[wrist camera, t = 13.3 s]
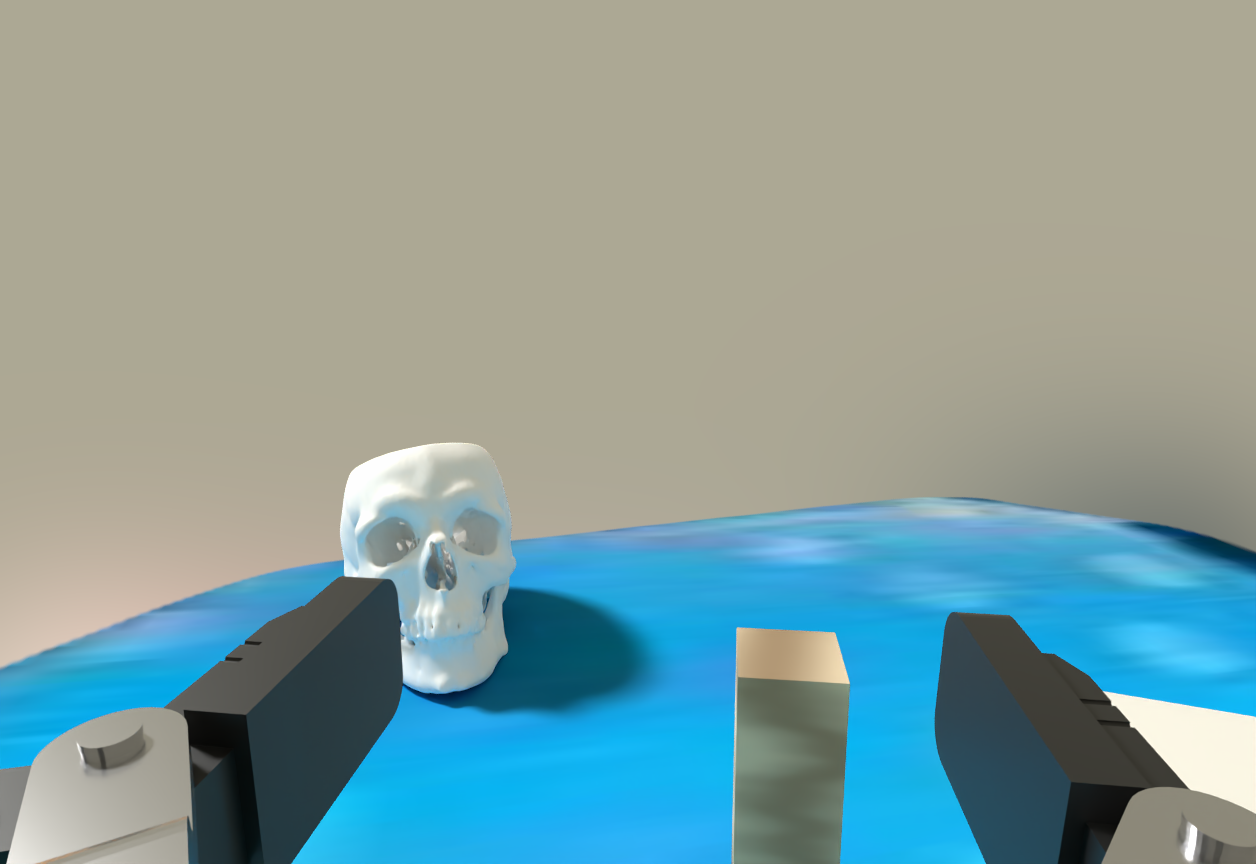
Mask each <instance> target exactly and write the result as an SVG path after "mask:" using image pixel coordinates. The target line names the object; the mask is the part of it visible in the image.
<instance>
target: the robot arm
mask: <svg viewBox="0 0 1256 864" xmlns="http://www.w3.org/2000/svg"><path fill="white" fill-rule="evenodd" d="M402 685H403V665H402V650H401V635H400V619H399V604H398V593H397V589H396V586H395V584H394V582H393V581H392V580H390V579H381V578H364V577H346V576H341V577H338V578H337V579H336V580H334V581H333V582H332V583H331V584H330V585H329V586H327V587H326V588H325V589H324V590H323V591H322V592H320V593H319V594H318V595H317V596H316V597H315V598H313V599H312V600H311V601H310V602H309V603H308V604H306V605H305V606H301V607H299V608H297V609H294V610H292V611H290V612H288V613H286V614H284V615H282V616H280V617H277V618H275V619H273V620H271V621H269V622H267V623H266V624H265V625H264V626H263V627H261V628H260V629H259V630H258V631H256V632H255V633H254V634H253V635H252V636H250V637H249V638H248V639H247V640H245V644H244V645H239V646H238V647H237V648H236V649H235V650H233V651H232V652H231V653H230V654H228V655H227V656H226V658H225V661H220V662H219V663H217V664H216V665H215V666H214V667H213V668H211V669H210V670H209V671H208V672H207V673H205V674H204V675H203V676H202V677H200V678H199V679H198V680H197V681H196V682H194V683H193V684H192V685H191V686H189V687H188V688H187V689H186V690H185V691H183V692H182V693H181V694H180V695H178V696H177V697H176V698H175V699H174V700H172V701H171V702H170V703H169V704H168V705H166V706H165V707H164V708H153V707H150V708H136V709H129V710H124V711H119V712H115V713H111V714H108V715H104V716H101V717H98V718H96V719H93V720H90V721H88V722H86V723H83V724H81V725H79V726H77V727H75V728H73V729H71V730H69V731H67V732H65V733H64V734H62V735H61V736H59V737H57V738H56V739H55V740H53V741H52V742H51V743H49V744H48V745H47V746H46V747H45V748H44V749H43V750H42V751H41V752H40V753H39V754H38V755H37V757H36V758H35V759H34V761H33V764H32V766H25V767H17V768H9V769H1V770H0V864H291V863H292V862H293V860H294V859H295V857H296V856H297V854H298V853H299V852H300V850H301V849H302V847H303V846H304V844H305V843H306V842H307V840H308V839H309V837H310V836H311V834H312V833H313V831H314V830H315V829H316V827H317V826H318V824H319V823H320V821H321V820H322V819H323V817H324V816H325V814H326V813H327V811H328V810H329V809H330V807H331V806H332V804H333V803H334V801H335V800H336V798H337V797H338V796H339V794H340V793H341V791H342V790H343V788H344V787H345V786H346V784H347V783H348V781H349V780H350V778H351V777H352V776H353V774H354V773H355V771H356V770H357V768H358V767H359V765H360V764H361V763H362V761H363V760H364V758H365V757H366V755H367V754H368V753H369V751H370V750H371V748H372V747H373V745H374V744H375V743H376V741H377V740H378V738H379V737H380V735H381V734H382V732H383V731H384V730H385V728H386V727H387V725H388V724H389V722H390V721H391V720H392V718H393V716H394V714H395V712H396V710H397V707H398V704H399V701H400V697H401V692H402ZM935 737H936V744H937V749H938V754H939V757H940V760H941V763H942V765H943V768H944V770H945V772H946V774H947V777H948V779H949V781H950V783H951V786H952V788H953V790H954V792H955V795H956V797H957V799H958V801H959V804H960V806H961V808H962V810H963V813H964V815H965V817H966V819H967V822H968V824H969V826H970V828H971V831H972V833H973V835H974V837H975V840H976V842H977V844H978V846H979V849H980V851H981V853H982V855H983V858H984V860H985V862H986V864H1256V814H1255V813H1253V812H1251V811H1249V810H1247V809H1245V808H1244V807H1241V806H1239V805H1237V804H1234V803H1232V802H1230V801H1227V800H1224V799H1222V798H1219V797H1216V796H1213V795H1210V794H1206V793H1202V792H1199V791H1194V790H1190V789H1189V788H1188V787H1187V786H1186V785H1185V783H1184V782H1183V781H1182V780H1181V779H1180V778H1179V777H1178V776H1177V774H1176V773H1175V772H1174V771H1173V770H1172V769H1171V768H1170V767H1169V765H1168V764H1167V763H1166V762H1165V761H1164V760H1163V759H1162V758H1161V756H1160V755H1159V754H1158V753H1157V752H1156V751H1155V750H1154V748H1153V747H1152V746H1151V745H1150V744H1149V743H1148V742H1147V741H1146V739H1145V738H1144V737H1143V736H1142V735H1141V734H1140V733H1139V732H1138V730H1137V729H1136V728H1134V727H1130V721H1129V720H1128V719H1127V718H1126V717H1125V716H1124V715H1123V714H1122V712H1121V711H1120V710H1119V709H1118V708H1117V707H1116V706H1112V704H1111V700H1110V699H1109V698H1108V697H1107V695H1106V694H1105V693H1104V692H1103V691H1102V690H1101V689H1100V688H1099V686H1098V685H1097V684H1096V683H1095V682H1094V681H1093V680H1092V679H1091V677H1090V676H1088V675H1087V674H1085V673H1084V672H1082V671H1080V670H1079V669H1077V668H1076V667H1074V666H1073V665H1071V664H1069V663H1068V662H1066V661H1065V660H1063V659H1061V658H1060V657H1058V656H1057V655H1055V654H1047V653H1041V652H1040V650H1039V649H1038V648H1037V647H1036V645H1035V644H1034V643H1033V642H1032V641H1031V639H1030V638H1029V637H1028V636H1027V634H1026V633H1025V632H1024V631H1023V630H1022V628H1021V627H1020V626H1019V625H1018V623H1017V622H1016V621H1015V620H1014V619H1013V618H1012V617H1011V616H1009V615H994V614H976V613H959V612H952V613H951V614H950V615H949V616H948V618H947V621H946V625H945V630H944V638H943V647H942V656H941V665H940V673H939V682H938V691H937V700H936V708H935Z"/></svg>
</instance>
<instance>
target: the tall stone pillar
mask: <svg viewBox="0 0 1256 864" xmlns="http://www.w3.org/2000/svg"><path fill="white" fill-rule="evenodd" d="M849 691H850V682H849V679H848V676H847V672H846V669H845V665H844V662H843V658H842V655H841V652H840V648H839V645H838V641H837V638H836V634H835V633H832V632H812V631H793V630H773V629H754V628H737V644H736V689H735V734H734V779H733V823H732V864H840V851H841V833H842V815H843V798H844V780H845V762H846V744H847V726H848V709H849Z"/></svg>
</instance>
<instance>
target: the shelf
mask: <svg viewBox="0 0 1256 864" xmlns="http://www.w3.org/2000/svg"><path fill="white" fill-rule="evenodd" d="M1104 693H1105V694H1106V695H1107V697H1108V698H1109V699H1110V700H1111V704H1112V706H1116V707H1117V708H1118V709H1119V710H1120V711H1121V712H1122V714H1123V715H1124V716H1125V717H1126V718H1127V719H1128V720H1129V721H1130V727H1134V728H1136V729H1137V730H1138V732H1139V733H1140V734H1141V735H1142V736H1143V737H1144V738H1145V739H1146V741H1147V742H1148V743H1149V744H1150V745H1151V746H1152V747H1153V748H1154V750H1155V751H1156V752H1157V753H1158V754H1159V755H1160V756H1161V758H1162V759H1163V760H1164V761H1165V762H1166V763H1167V764H1168V765H1169V767H1170V768H1171V769H1172V770H1173V771H1174V772H1175V773H1176V774H1177V776H1178V777H1179V778H1180V779H1181V780H1182V781H1183V782H1184V783H1185V785H1186V786H1187V787H1188V788H1189V789H1190V790H1194V791H1199V792H1202V793H1206V794H1210V795H1213V796H1216V797H1219V798H1222V799H1224V800H1227V801H1230V802H1232V803H1234V804H1237V805H1239V806H1241V807H1244V808H1245V809H1247V810H1249V811H1251V812H1253V813H1255V814H1256V717H1252V716H1247V715H1241V714H1235V713H1229V712H1223V711H1217V710H1211V709H1205V708H1199V707H1193V706H1187V705H1181V704H1175V703H1169V702H1163V701H1157V700H1151V699H1145V698H1139V697H1133V696H1127V695H1121V694H1115V693H1109V692H1104Z"/></svg>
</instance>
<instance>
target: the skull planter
mask: <svg viewBox="0 0 1256 864" xmlns="http://www.w3.org/2000/svg"><path fill="white" fill-rule="evenodd" d="M511 524H512V522H511V515H510V510H509V505H508V501H507V497H506V494H505V491H504V486H503V482H502V479H501V476H500V473H499V471H498V469H497V466H496V464H495V462H494V460H493V458H492V457H491V455H490V454H489V453H488V452H487V451H486V450H485V449H484V448H482V447H481V446H479V445H475V444H470V443H439V444H429V445H423V446H417V447H413V448H409V449H404V450H400V451H396V452H392V453H389V454H385V455H383V456H380V457H377V458H375V459H372V460H370V461H368V462H366V463H364V464H362V465H360V466H358V467H356V468H355V469H354V470H353V471H352V472H351V474H350V476H349V479H348V481H347V485H346V489H345V494H344V502H343V511H342V518H341V526H340V538H341V545H342V550H343V555H344V574H345V576H346V577H364V578H381V579H390V580H392V581H393V582H394V584H395V586H396V589H397V593H398V604H399V613H400V620H401V621H402V625H401V628H400V630H401V633H402V634H403V635H404V636H402V635H401V634H400V635H401V650H402V665H403V683H404V684H406V685H407V686H409V687H411V688H413V689H415V690H417V691H420V692H423V693H435V694H439V693H450V692H453V691H463V690H466V689H469V688H471V687H474V686H476V685H478V684H480V683H482V682H484V681H485V680H486V679H487V678H488V677H489V676H490V675H491V674H492V672H493V670H494V668H495V666H496V664H497V662H498V661H499V660H500V658H501V657H502V656H504V655H506V654H507V652H508V643H507V640H506V637H505V633H504V623H503V617H502V603H503V602H504V600H505V598H506V596H507V593H508V589H509V577H510V575H511V574H512V572H513V571H514V570H515V567H516V560H515V558H514V557H513V556H512V549H511V526H512V525H511ZM489 597H490V598H489ZM488 598H489V601H488V604H487V608H486V603H487V600H486V599H488ZM485 608H486V610H485ZM484 610H485V613H483V611H484Z"/></svg>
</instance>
